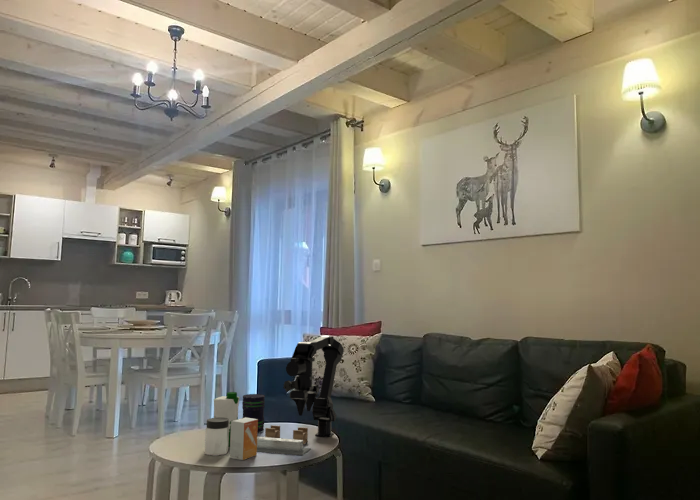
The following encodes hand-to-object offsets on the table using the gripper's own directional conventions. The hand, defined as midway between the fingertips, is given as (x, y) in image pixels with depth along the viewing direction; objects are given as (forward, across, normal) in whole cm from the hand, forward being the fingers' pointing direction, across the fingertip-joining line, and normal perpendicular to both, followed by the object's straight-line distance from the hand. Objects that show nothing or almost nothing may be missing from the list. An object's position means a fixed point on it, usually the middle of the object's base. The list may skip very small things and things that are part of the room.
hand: (304, 413), depth 211 cm
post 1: (+12, -1, -14) cm, 18 cm away
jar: (+12, +21, -27) cm, 36 cm away
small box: (+12, +23, -15) cm, 30 cm away
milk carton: (+12, +9, -30) cm, 34 cm away
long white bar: (+12, +11, -7) cm, 17 cm away
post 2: (+12, -1, -2) cm, 12 cm away
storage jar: (+12, -16, -30) cm, 36 cm away
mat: (+12, +11, -7) cm, 18 cm away
